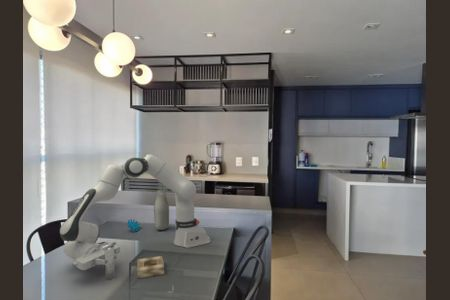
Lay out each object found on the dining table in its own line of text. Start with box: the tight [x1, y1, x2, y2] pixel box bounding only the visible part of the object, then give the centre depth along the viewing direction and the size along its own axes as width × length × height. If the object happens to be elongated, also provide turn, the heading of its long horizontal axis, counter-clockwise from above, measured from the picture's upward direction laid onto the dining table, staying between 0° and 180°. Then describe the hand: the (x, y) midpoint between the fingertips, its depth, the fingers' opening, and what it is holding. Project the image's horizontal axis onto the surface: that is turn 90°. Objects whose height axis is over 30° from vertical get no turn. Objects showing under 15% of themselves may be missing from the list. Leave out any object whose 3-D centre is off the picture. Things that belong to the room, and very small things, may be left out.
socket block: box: [136, 255, 165, 279], centre depth 125 cm, size 12×12×4 cm
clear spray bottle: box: [102, 241, 117, 281], centre depth 118 cm, size 7×4×15 cm, turn 153°
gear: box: [126, 218, 141, 233], centre depth 181 cm, size 11×6×10 cm
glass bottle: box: [153, 189, 170, 231], centre depth 182 cm, size 10×10×28 cm
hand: (110, 259), depth 118 cm, fingers closed on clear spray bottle, 4 cm apart
